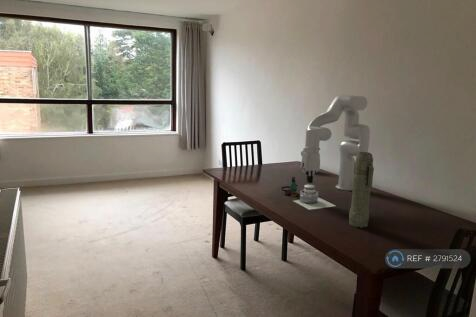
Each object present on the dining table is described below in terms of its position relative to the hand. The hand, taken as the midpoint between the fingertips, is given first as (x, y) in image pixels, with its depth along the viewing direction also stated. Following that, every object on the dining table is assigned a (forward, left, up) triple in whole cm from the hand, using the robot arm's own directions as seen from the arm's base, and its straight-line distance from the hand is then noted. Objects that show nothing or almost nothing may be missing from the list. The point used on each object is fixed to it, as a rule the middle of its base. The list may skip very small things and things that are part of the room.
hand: (309, 182), depth 201 cm
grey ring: (0, 0, -11) cm, 11 cm away
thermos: (-3, +37, -12) cm, 39 cm away
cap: (0, 0, -7) cm, 7 cm away
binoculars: (+3, -16, -12) cm, 20 cm away
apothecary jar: (-43, -64, -12) cm, 78 cm away
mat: (-1, +4, -12) cm, 12 cm away
